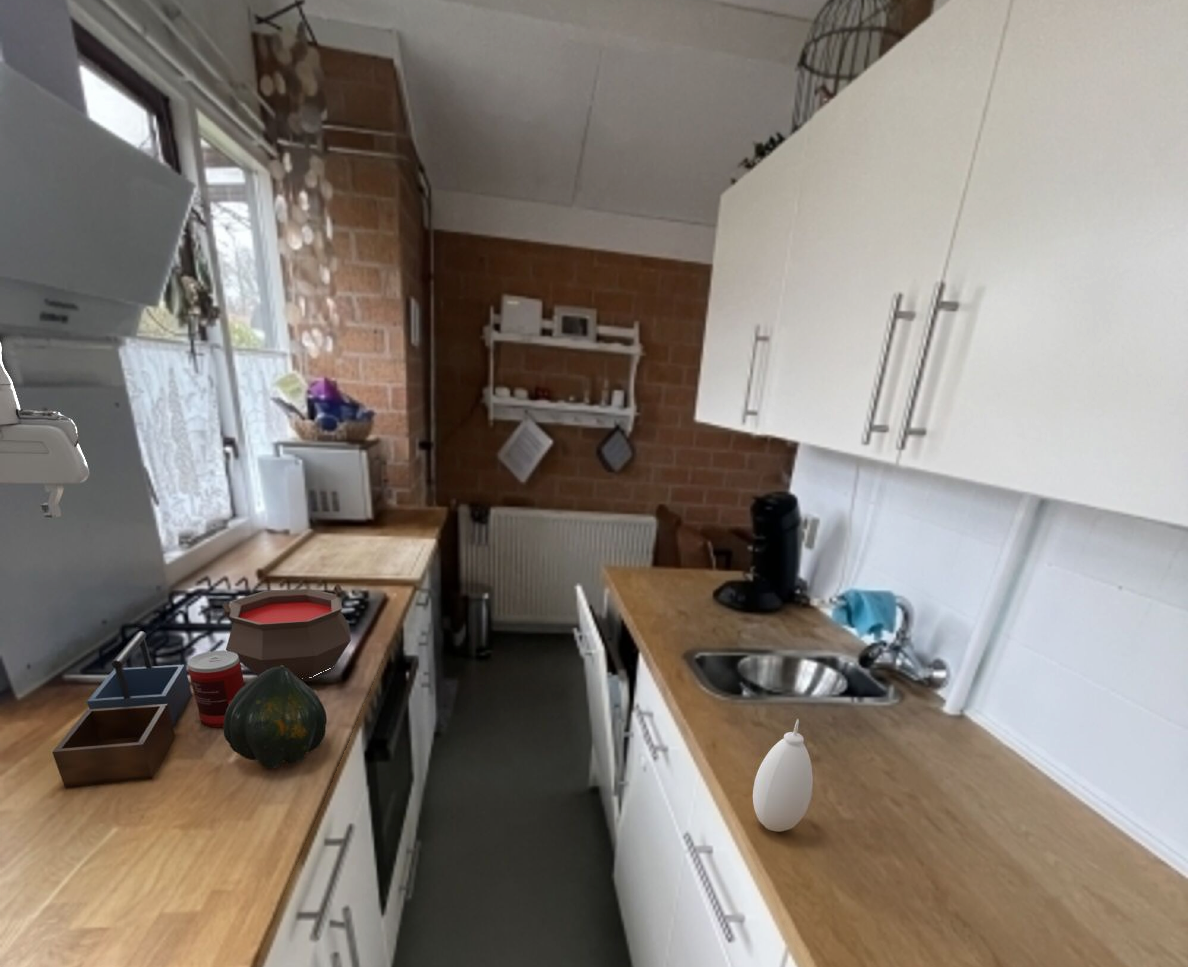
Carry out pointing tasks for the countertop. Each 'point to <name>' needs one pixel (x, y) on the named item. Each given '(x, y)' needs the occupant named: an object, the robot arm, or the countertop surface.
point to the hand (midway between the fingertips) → (12, 516)
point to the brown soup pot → (288, 631)
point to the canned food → (215, 684)
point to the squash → (275, 719)
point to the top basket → (143, 683)
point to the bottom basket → (115, 745)
